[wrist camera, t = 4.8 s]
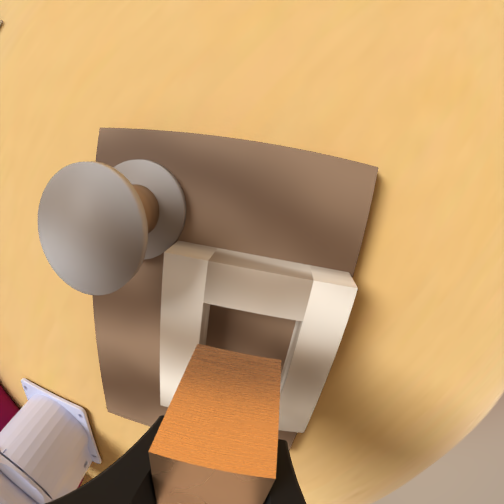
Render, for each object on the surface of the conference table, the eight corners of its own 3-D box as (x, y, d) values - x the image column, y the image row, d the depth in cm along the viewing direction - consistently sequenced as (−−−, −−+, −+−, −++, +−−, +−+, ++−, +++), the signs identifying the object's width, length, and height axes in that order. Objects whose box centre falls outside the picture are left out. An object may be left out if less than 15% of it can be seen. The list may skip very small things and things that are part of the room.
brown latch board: (287, 445, 20) (285, 509, 14) (112, 403, 20) (80, 455, 15) (372, 167, 14) (424, 171, 8) (109, 128, 15) (36, 121, 9)
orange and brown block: (260, 429, 12) (248, 529, 7) (192, 415, 12) (158, 510, 7) (281, 359, 10) (275, 478, 6) (197, 343, 10) (148, 451, 6)
